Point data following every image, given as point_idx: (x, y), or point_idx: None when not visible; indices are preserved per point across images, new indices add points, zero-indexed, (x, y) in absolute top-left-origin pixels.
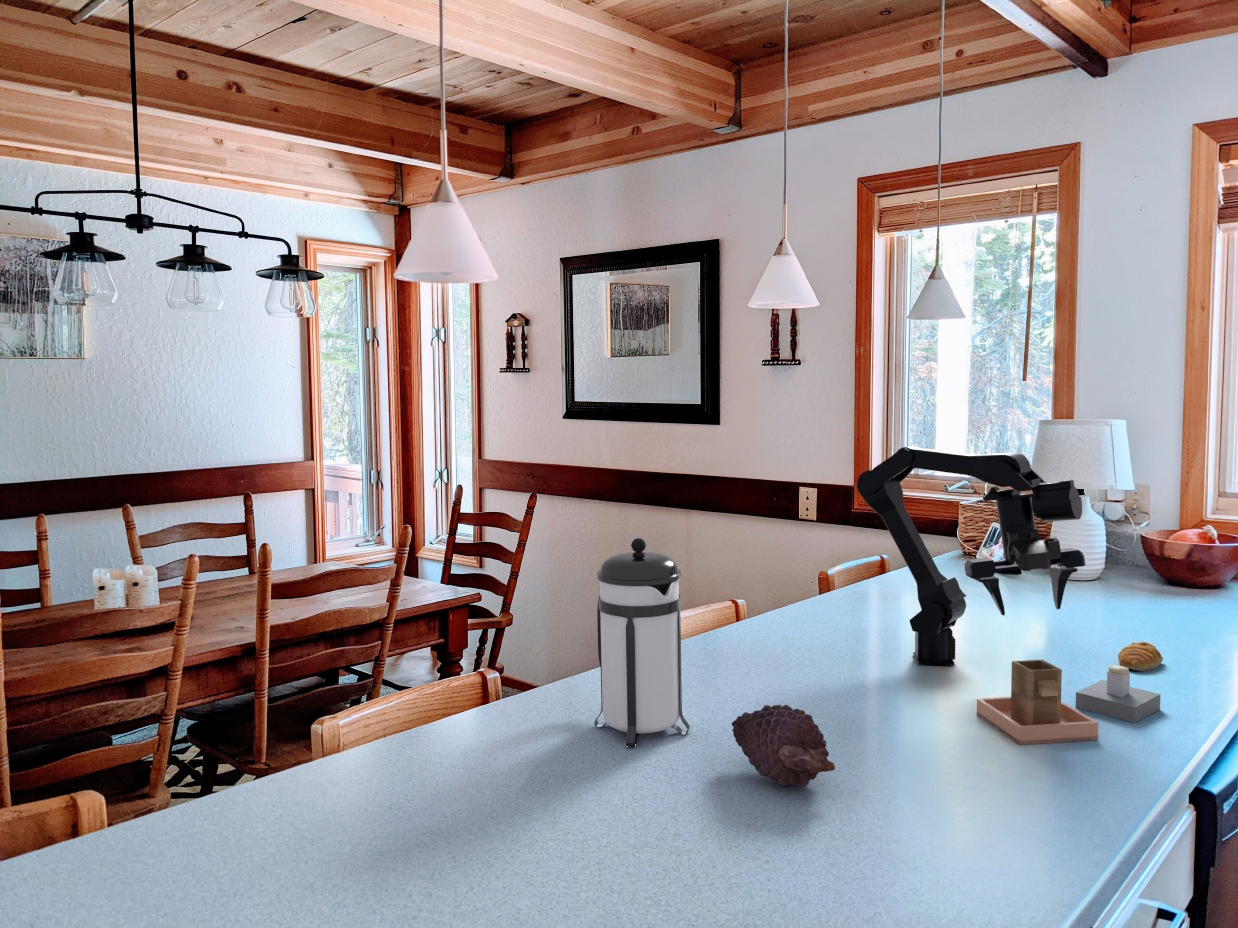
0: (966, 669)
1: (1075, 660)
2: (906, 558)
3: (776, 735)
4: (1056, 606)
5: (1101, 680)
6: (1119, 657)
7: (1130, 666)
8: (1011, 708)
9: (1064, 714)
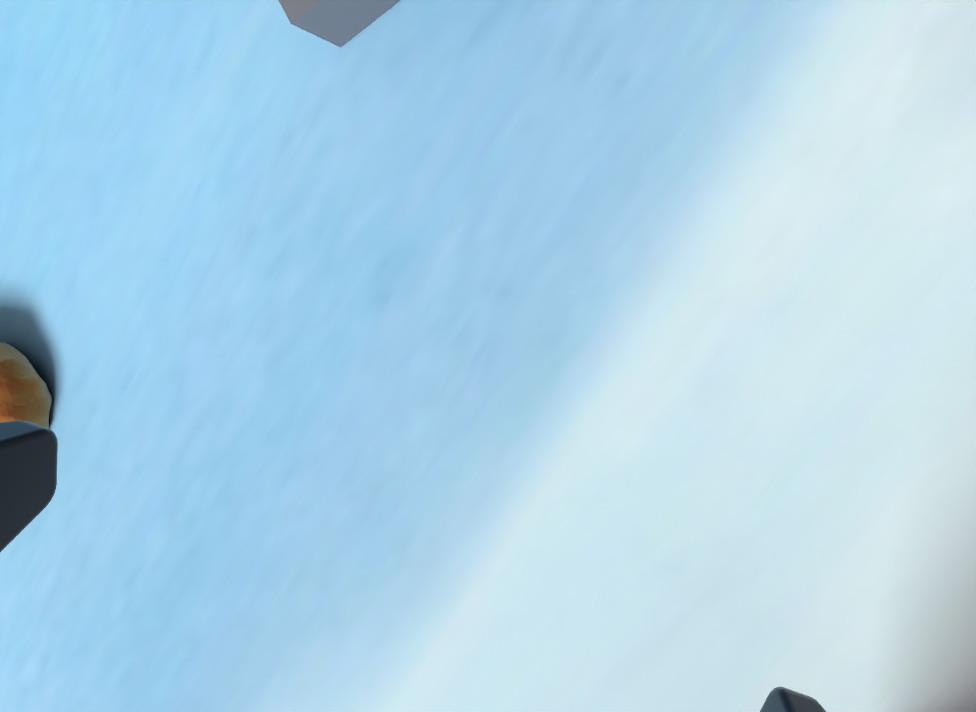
0: (852, 663)
1: (177, 571)
2: None
3: None
4: (29, 476)
5: (297, 16)
6: None
7: (20, 364)
8: None
9: None
